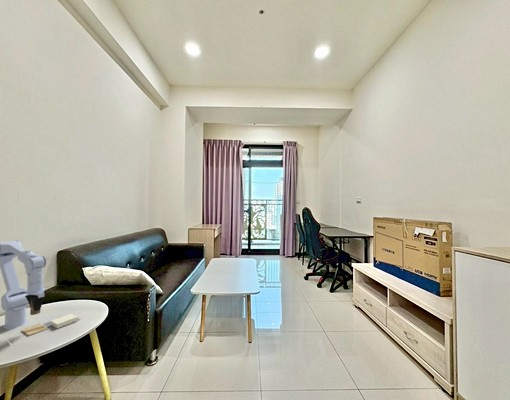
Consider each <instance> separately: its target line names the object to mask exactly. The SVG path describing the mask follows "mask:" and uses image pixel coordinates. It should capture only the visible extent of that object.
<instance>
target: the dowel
mask: <svg viewBox="0 0 510 400" xmlns="http://www.w3.org/2000/svg"><path fill="white" fill-rule="evenodd" d="M29 308H30V307H29ZM29 314H30V316H34V315H38V314H41V309H40V310H38V311H34V309H33V304H32V301H31V308H30V313H29Z"/></svg>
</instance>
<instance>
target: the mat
mask: <svg viewBox="0 0 510 400" xmlns="http://www.w3.org/2000/svg"><path fill="white" fill-rule="evenodd" d="M51 321H52V320H50V321H48V322H44V323H42V325H43V326H45V327H47V329H48V328H49V329H51V330H52V331H54V330H55V331H56V330H58V329H60V328H62V327H60V328H56V327H54V326H52V325H51ZM79 321H81V319H80V318H78V321H76V322H79ZM76 322H73V323H72V324H74V323H76ZM69 325H70V324H68V325H65V326H69ZM65 326H64V327H65Z"/></svg>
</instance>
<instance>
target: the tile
mask: <svg viewBox="0 0 510 400" xmlns="http://www.w3.org/2000/svg"><path fill="white" fill-rule="evenodd" d="M78 319H79V317H78V315H75V314H74V313H70V314H66V315H64V316H61V317H58V318H56V319H51V320H50V321H51V325H52V326H54V327H56V328H58V329H60V327H61V328H63V327H65V325H66V326H69V325H71V324H74V323H76V321H77V322H79V321H78ZM73 322H74V323H73ZM68 324H69V325H68Z"/></svg>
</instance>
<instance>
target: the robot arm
mask: <svg viewBox="0 0 510 400" xmlns="http://www.w3.org/2000/svg"><path fill="white" fill-rule="evenodd" d="M15 258H17V260H18V261H19V262H21V263H22V264H23V265H24V269H25V274H27V275H26V276H27V280H26V281H27V284H26V285H27V286H26V287H27V288H25V287H21V285H20V284H21V283H20V282H19V278H18V275H17V274H18V273H17V271H16V268H15V265H14V262H13V259H15ZM46 265H47V259H46V257H45V256H44V255H37V254H36V253H34V252H33V251H31V250H30V249H26V250H25V249H24V248H23V246H22V242H21V241H20V240H18V239H15V240H9V241H1V242H0V271H1V275H2V279H3V282H4V286H5V288H6V292H5V293H3V295H2V296H1V297H0V301H1V304H0V306H1V309H2V310H3V311H4V312H5V313H4V324H2V327H3V328H4V329H5V330H6V331H11V330H14V329H17V328H20V327H23V326H26V325H29V324H30V322H28V321H27V307H29V308H31V301H32V304H33V309H34V311H38V310H40V311H41V308H42V305H43V302H44V300H45V298H46V294H45V292H44V291H46V290H47V288H46V287H44V268H45V267H46Z"/></svg>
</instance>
